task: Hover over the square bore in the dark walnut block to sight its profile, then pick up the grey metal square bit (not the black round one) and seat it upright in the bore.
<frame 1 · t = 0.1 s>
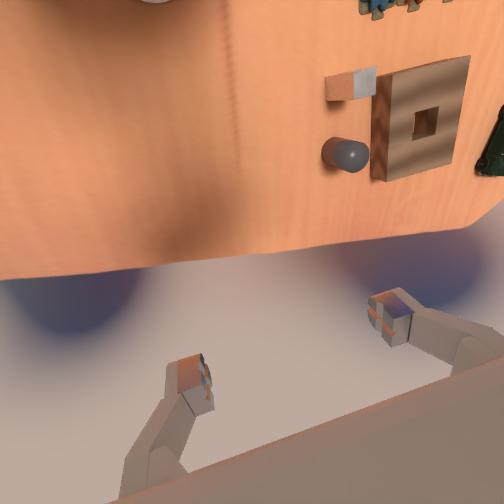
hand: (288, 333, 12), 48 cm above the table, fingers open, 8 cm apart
bore block: (404, 122, 59), on the table
round bit: (333, 150, 58), on the table
square bit: (335, 86, 52), on the table
miniature car: (499, 138, 67), on the table
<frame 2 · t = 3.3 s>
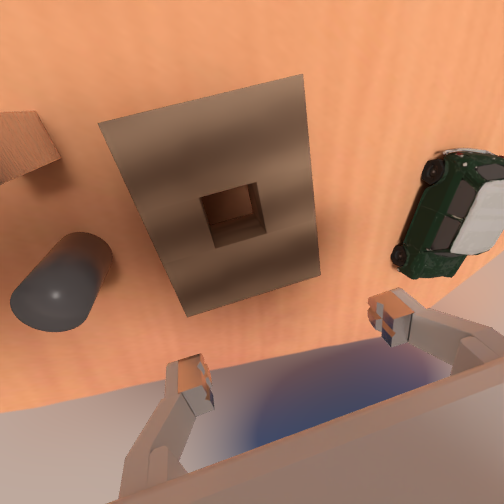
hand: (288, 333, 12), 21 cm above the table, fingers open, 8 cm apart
bore block: (226, 197, 30), on the table
round bit: (85, 255, 30), on the table
square bit: (26, 141, 24), on the table
miniature car: (430, 212, 39), on the table
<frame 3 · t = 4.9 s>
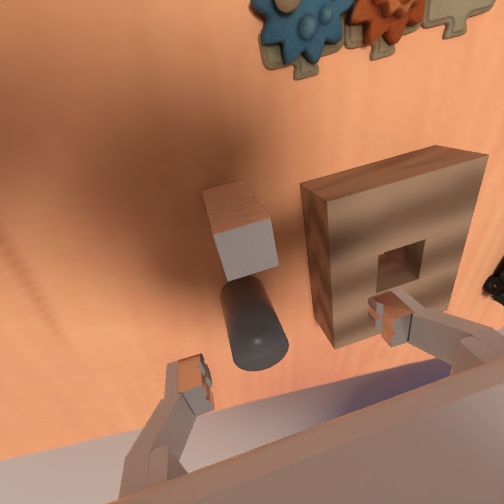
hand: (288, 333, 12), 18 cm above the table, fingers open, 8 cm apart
bore block: (366, 242, 34), on the table
round bit: (242, 294, 33), on the table
square bit: (226, 203, 27), on the table
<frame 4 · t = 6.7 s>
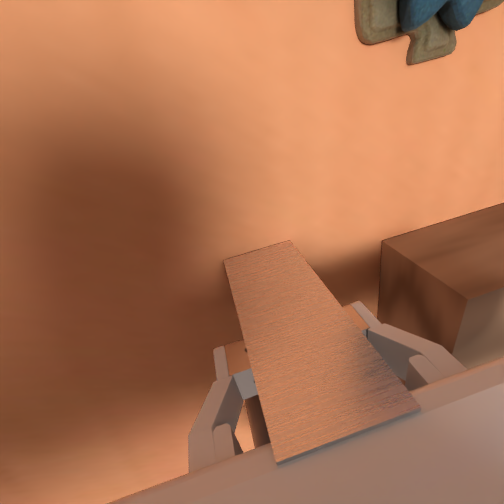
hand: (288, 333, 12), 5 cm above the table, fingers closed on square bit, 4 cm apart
bore block: (461, 313, 23), on the table
round bit: (277, 392, 22), on the table
square bit: (263, 277, 16), on the table, touching gripper
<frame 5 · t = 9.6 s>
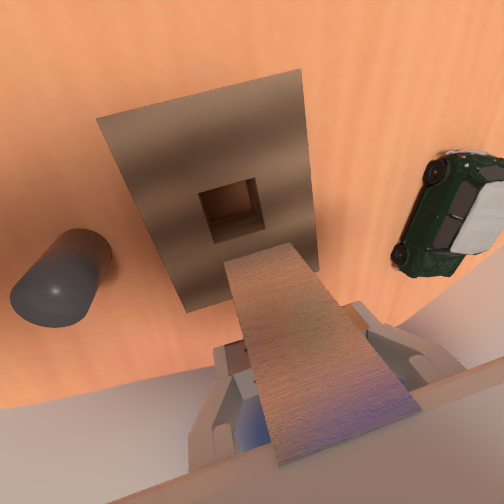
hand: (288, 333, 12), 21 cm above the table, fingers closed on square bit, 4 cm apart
bore block: (224, 193, 30), on the table
round bit: (84, 251, 30), on the table
square bit: (263, 279, 16), point 17 cm above the table, touching gripper
miniature car: (430, 212, 39), on the table
when the fingers open (7 cm above the table, at t = 12.4 s): square bit drops 3 cm, resting in bore block.
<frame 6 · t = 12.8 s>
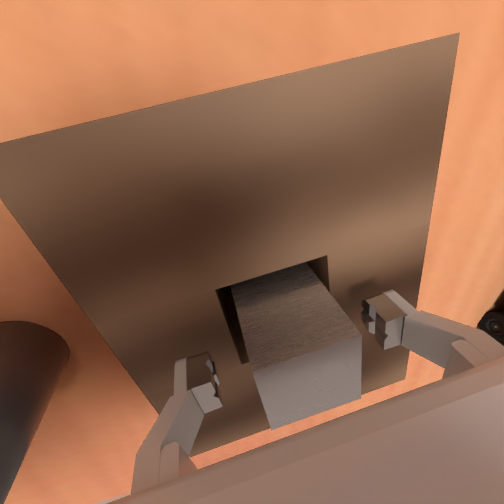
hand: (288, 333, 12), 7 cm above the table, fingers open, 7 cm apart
bore block: (253, 256, 19), on the table
round bit: (21, 352, 18), on the table
square bit: (254, 257, 19), resting in bore block
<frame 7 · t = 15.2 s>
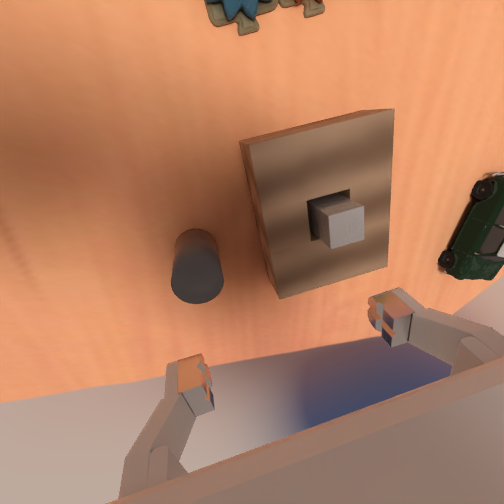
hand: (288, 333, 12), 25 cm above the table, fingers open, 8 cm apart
bore block: (310, 202, 37), on the table
round bit: (196, 247, 37), on the table
square bit: (310, 202, 37), resting in bore block
miniature car: (473, 224, 46), on the table
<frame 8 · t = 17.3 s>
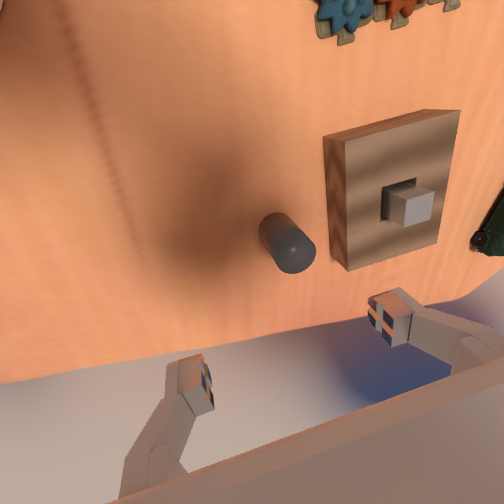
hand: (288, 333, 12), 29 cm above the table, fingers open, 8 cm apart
bore block: (372, 188, 43), on the table
round bit: (275, 228, 43), on the table
square bit: (372, 189, 44), resting in bore block
miniature car: (502, 208, 53), on the table
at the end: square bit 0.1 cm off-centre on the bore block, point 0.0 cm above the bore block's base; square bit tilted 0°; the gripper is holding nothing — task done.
